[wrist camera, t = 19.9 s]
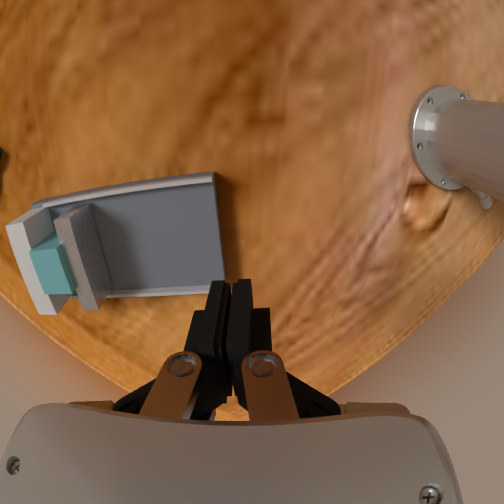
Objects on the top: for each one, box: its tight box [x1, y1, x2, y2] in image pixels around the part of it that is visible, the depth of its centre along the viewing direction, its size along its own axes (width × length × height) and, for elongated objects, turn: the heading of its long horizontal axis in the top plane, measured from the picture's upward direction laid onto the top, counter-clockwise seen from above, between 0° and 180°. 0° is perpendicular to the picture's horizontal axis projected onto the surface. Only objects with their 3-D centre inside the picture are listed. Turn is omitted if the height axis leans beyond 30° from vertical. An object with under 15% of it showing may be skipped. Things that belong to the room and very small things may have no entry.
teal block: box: [29, 230, 76, 294], centre depth 26 cm, size 4×5×6 cm
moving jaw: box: [53, 203, 113, 310], centre depth 27 cm, size 2×10×4 cm, turn 4°
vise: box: [5, 172, 226, 315], centre depth 28 cm, size 22×12×7 cm, turn 94°
